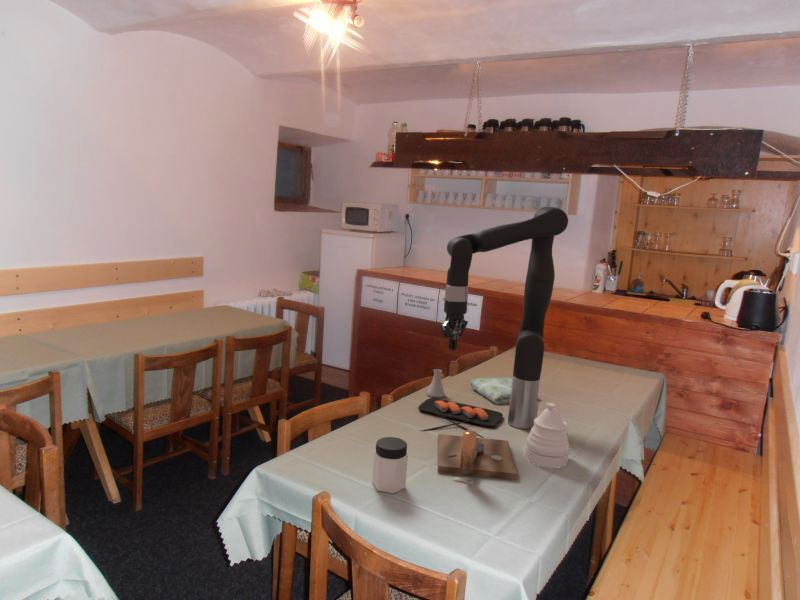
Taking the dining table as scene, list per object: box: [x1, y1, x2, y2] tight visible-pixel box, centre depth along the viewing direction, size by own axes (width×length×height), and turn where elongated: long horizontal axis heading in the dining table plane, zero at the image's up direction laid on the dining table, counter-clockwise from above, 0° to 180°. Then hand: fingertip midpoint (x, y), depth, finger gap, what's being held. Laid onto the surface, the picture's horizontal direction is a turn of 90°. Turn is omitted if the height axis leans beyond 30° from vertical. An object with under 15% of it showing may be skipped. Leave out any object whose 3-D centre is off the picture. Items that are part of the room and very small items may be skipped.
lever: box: [460, 429, 484, 473], centre depth 164 cm, size 19×5×12 cm, turn 163°
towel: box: [470, 376, 513, 405], centre depth 231 cm, size 18×21×5 cm
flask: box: [426, 368, 446, 399], centre depth 224 cm, size 7×7×10 cm
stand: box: [437, 433, 518, 486], centre depth 170 cm, size 22×27×2 cm
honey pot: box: [524, 402, 570, 469], centre depth 174 cm, size 13×13×18 cm
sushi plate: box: [417, 397, 504, 438], centre depth 200 cm, size 29×30×4 cm
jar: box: [371, 436, 409, 494], centre depth 152 cm, size 9×8×12 cm
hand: (452, 349), depth 192 cm, fingers closed
